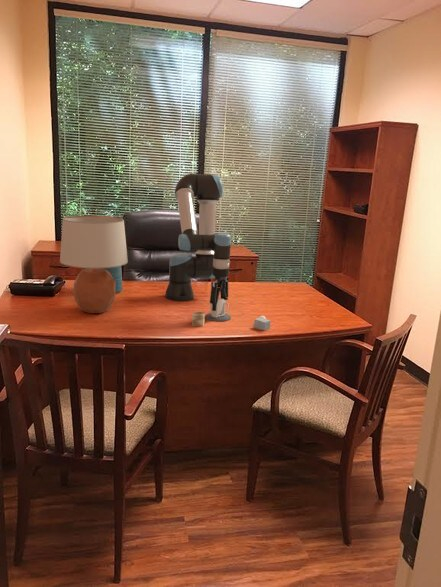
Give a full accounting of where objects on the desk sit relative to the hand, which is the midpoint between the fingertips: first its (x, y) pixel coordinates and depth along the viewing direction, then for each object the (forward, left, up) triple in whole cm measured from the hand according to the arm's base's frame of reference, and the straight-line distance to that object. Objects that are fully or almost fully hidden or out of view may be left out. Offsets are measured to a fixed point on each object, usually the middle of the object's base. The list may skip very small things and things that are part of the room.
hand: (218, 314), depth 228 cm
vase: (-71, +6, -1) cm, 71 cm away
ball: (+21, +3, -1) cm, 21 cm away
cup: (0, 0, -1) cm, 1 cm away
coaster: (0, 0, -1) cm, 1 cm away
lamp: (-52, -26, -1) cm, 58 cm away
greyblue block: (+23, -2, -1) cm, 23 cm away
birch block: (-3, -14, -1) cm, 14 cm away
